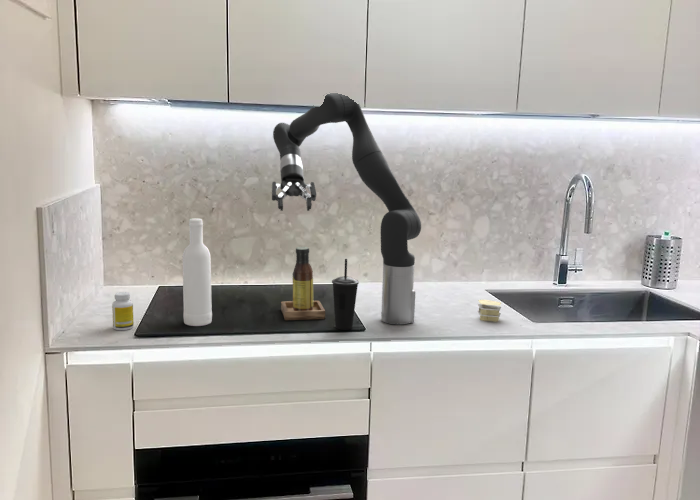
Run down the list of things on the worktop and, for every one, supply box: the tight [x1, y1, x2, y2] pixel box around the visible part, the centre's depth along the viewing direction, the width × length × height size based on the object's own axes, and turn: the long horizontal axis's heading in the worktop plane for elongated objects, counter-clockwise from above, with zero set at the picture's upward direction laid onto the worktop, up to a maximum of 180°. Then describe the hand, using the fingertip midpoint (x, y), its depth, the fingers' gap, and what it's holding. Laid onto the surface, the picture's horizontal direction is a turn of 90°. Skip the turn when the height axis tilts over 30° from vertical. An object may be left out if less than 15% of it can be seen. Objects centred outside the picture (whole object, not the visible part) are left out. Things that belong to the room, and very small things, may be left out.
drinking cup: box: [331, 258, 360, 331], centre depth 177 cm, size 8×8×20 cm
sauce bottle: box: [292, 246, 314, 311], centre depth 190 cm, size 7×6×20 cm
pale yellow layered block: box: [477, 299, 502, 323], centre depth 191 cm, size 10×9×6 cm
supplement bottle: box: [111, 291, 135, 331], centre depth 173 cm, size 5×5×10 cm
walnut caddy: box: [280, 300, 326, 321], centre depth 191 cm, size 12×12×2 cm
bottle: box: [181, 217, 213, 327], centre depth 178 cm, size 8×8×30 cm
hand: (295, 209), depth 199 cm, fingers open, 8 cm apart
